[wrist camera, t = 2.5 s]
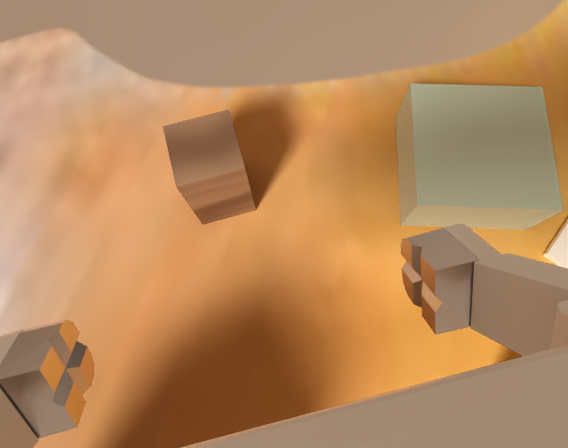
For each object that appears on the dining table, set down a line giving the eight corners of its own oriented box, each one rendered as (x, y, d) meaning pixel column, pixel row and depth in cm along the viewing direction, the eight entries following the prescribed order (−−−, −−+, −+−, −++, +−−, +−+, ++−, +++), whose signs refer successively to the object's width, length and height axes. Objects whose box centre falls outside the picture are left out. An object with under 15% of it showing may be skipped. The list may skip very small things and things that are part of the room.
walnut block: (256, 210, 34) (245, 168, 26) (202, 224, 33) (176, 186, 26) (242, 162, 35) (228, 109, 27) (191, 176, 35) (163, 126, 27)
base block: (524, 230, 33) (563, 210, 28) (399, 226, 33) (417, 205, 29) (509, 122, 36) (542, 86, 31) (395, 118, 36) (410, 83, 32)
